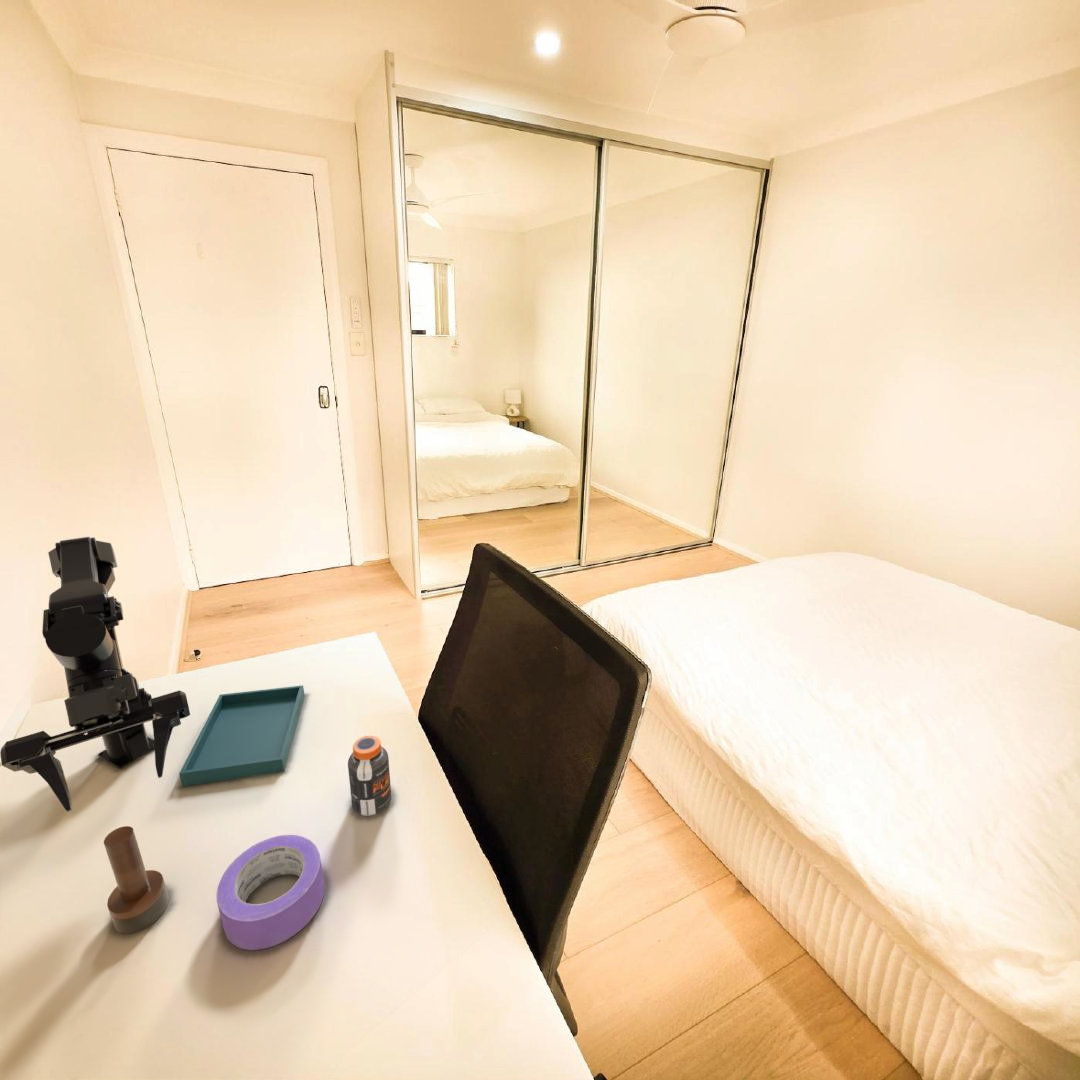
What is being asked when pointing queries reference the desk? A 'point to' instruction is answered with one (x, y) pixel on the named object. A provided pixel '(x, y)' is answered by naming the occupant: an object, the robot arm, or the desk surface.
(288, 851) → the tape roll
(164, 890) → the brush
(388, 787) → the pill bottle
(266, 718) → the tray
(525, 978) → the desk surface
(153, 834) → the desk surface
